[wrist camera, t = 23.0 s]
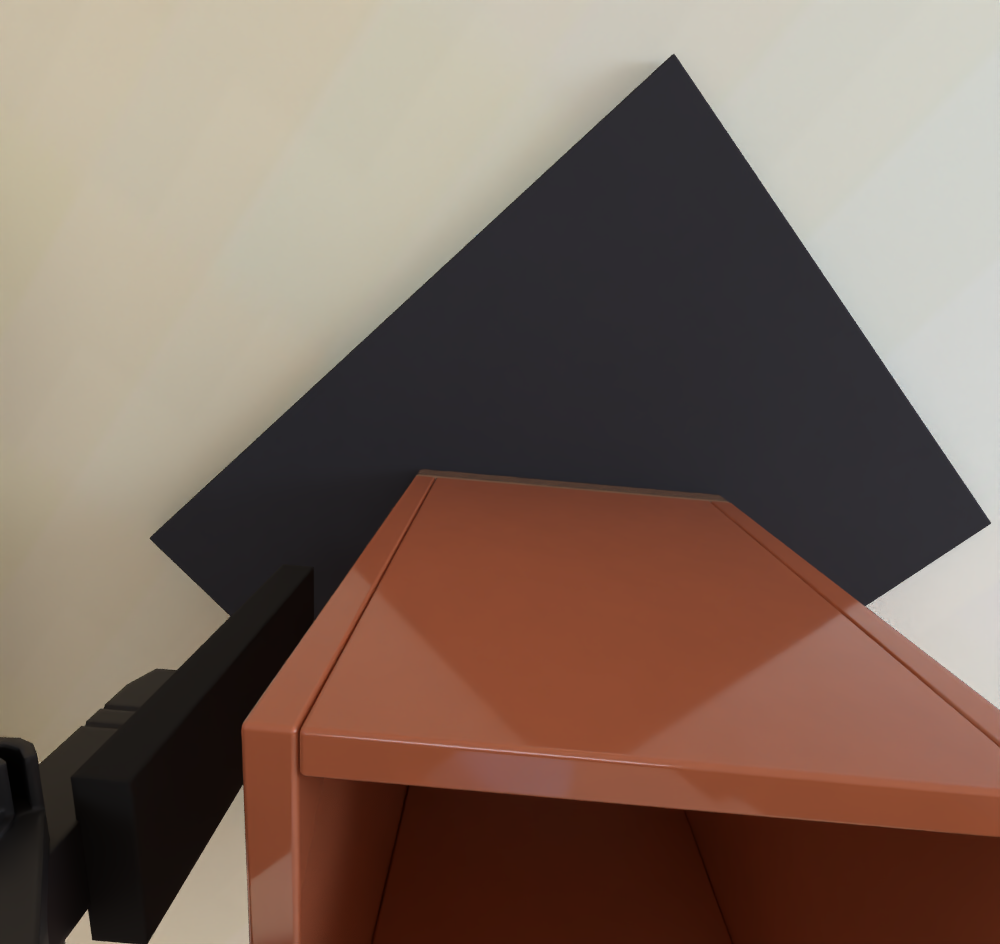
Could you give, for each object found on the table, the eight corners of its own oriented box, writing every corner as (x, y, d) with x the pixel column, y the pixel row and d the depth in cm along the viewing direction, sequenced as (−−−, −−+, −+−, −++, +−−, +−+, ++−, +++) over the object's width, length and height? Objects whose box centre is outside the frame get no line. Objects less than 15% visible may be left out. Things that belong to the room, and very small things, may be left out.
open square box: (407, 725, 18) (419, 467, 16) (672, 749, 18) (721, 494, 16) (260, 1264, 8) (237, 725, 6) (892, 1322, 8) (1123, 803, 6)
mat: (483, 848, 20) (483, 858, 20) (156, 534, 17) (148, 538, 17) (981, 519, 17) (992, 523, 16) (669, 60, 14) (674, 52, 13)
